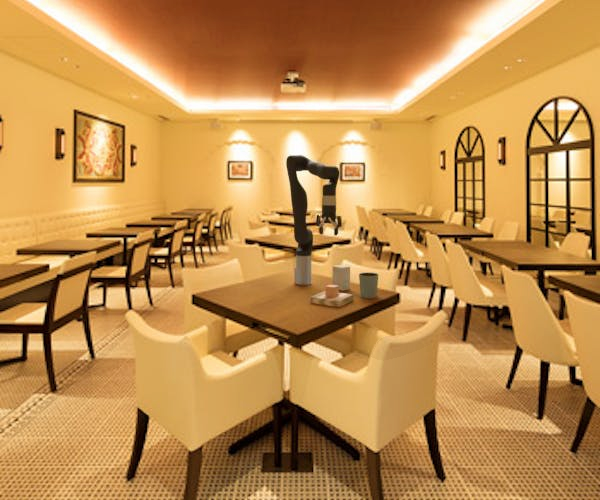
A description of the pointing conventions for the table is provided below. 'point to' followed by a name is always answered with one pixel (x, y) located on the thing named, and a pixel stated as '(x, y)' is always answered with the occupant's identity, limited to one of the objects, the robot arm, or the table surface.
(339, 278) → the small box
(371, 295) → the grey cylindrical piece
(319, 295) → the maple base
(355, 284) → the table surface
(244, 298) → the table surface
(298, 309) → the table surface
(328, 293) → the terracotta cube
